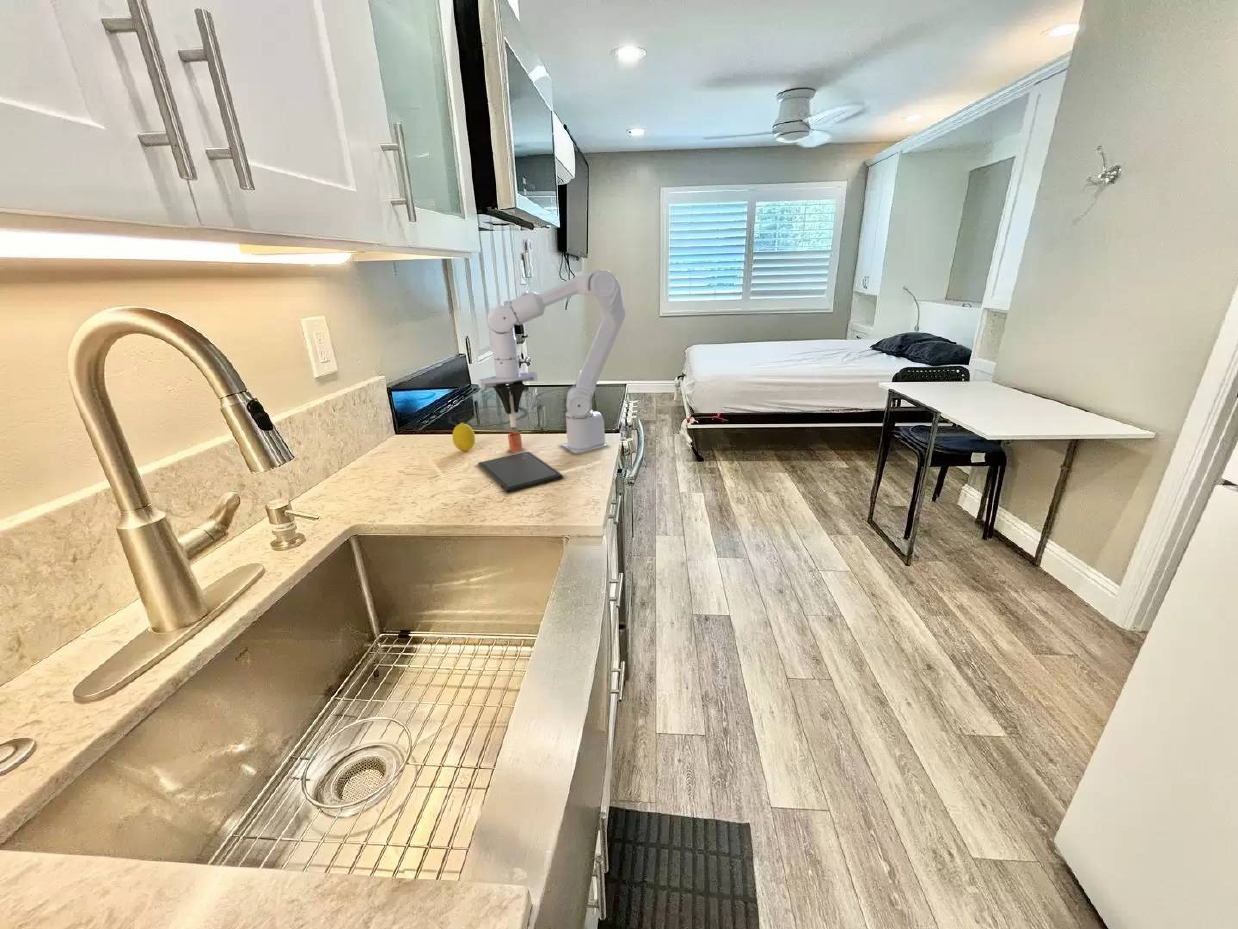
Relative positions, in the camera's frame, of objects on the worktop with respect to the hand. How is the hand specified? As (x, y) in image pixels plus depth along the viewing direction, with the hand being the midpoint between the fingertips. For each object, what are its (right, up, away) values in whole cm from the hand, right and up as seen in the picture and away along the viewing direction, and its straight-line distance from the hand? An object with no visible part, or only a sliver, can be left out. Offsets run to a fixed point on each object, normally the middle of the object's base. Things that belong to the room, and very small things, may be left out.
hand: (511, 412), depth 124 cm
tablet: (+4, -15, -10) cm, 18 cm away
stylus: (0, -4, +2) cm, 4 cm away
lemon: (-13, -10, +4) cm, 17 cm away
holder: (0, -10, +4) cm, 10 cm away
